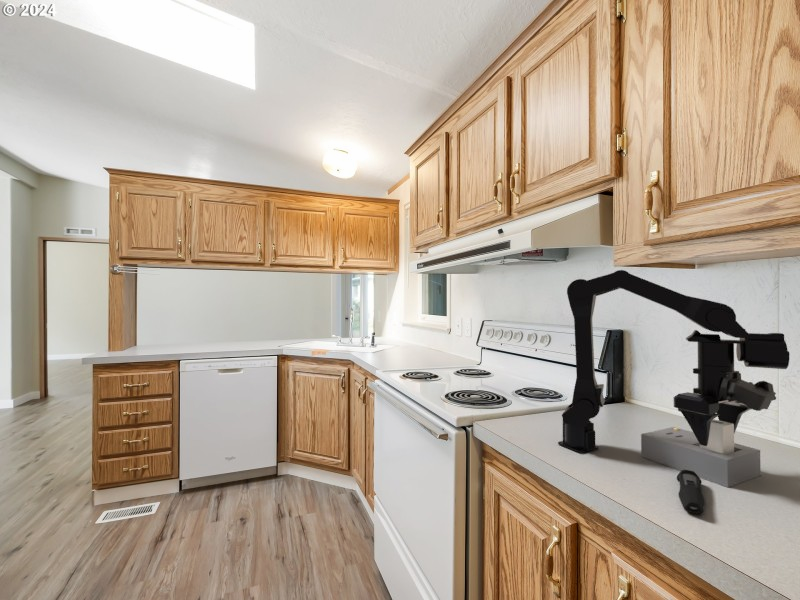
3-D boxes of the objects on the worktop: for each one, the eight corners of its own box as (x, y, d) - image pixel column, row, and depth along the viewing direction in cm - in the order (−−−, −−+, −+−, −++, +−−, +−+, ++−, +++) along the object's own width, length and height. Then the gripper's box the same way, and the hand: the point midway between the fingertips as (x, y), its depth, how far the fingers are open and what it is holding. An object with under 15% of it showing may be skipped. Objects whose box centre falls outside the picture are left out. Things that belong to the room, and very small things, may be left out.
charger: (699, 460, 78) (699, 419, 78) (711, 456, 80) (710, 417, 80) (723, 467, 74) (722, 425, 74) (734, 464, 76) (733, 422, 76)
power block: (641, 456, 85) (641, 433, 85) (673, 448, 90) (673, 426, 90) (727, 487, 70) (727, 458, 70) (760, 475, 75) (760, 448, 76)
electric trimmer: (678, 517, 61) (678, 497, 61) (676, 480, 74) (676, 463, 74) (708, 525, 59) (708, 505, 59) (701, 485, 72) (701, 468, 72)
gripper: (740, 374, 66) (741, 465, 66) (790, 367, 74) (792, 448, 74) (671, 365, 76) (672, 443, 76) (722, 360, 84) (723, 431, 84)
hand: (716, 442), depth 77 cm, fingers open, 9 cm apart
